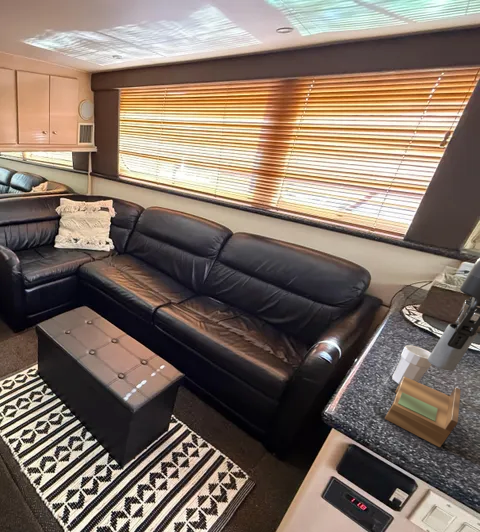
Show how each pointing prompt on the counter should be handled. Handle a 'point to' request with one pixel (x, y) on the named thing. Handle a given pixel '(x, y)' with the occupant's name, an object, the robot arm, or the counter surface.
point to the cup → (412, 364)
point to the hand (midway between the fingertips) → (454, 343)
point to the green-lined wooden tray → (424, 411)
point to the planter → (449, 350)
